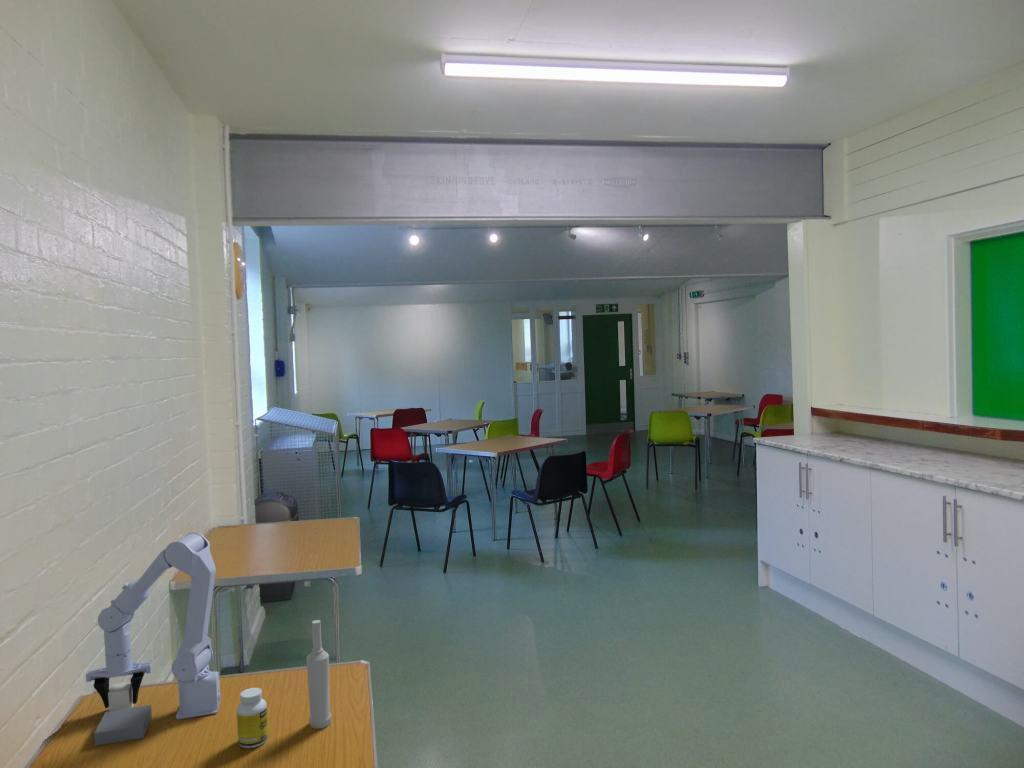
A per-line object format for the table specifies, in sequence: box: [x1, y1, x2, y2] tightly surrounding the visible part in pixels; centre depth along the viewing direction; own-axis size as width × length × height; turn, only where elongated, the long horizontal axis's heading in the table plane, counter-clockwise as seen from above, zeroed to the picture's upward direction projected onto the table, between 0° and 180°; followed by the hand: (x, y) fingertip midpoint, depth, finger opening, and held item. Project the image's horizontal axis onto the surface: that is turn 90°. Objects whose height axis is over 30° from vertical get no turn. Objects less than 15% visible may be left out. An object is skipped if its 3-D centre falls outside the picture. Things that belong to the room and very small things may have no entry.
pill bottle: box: [236, 687, 269, 749], centre depth 163 cm, size 6×6×12 cm
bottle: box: [306, 619, 332, 730], centre depth 170 cm, size 5×5×25 cm
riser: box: [93, 704, 153, 747], centre depth 170 cm, size 10×10×3 cm
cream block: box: [108, 681, 135, 711], centre depth 179 cm, size 4×4×6 cm
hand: (121, 704), depth 180 cm, fingers open, 6 cm apart
